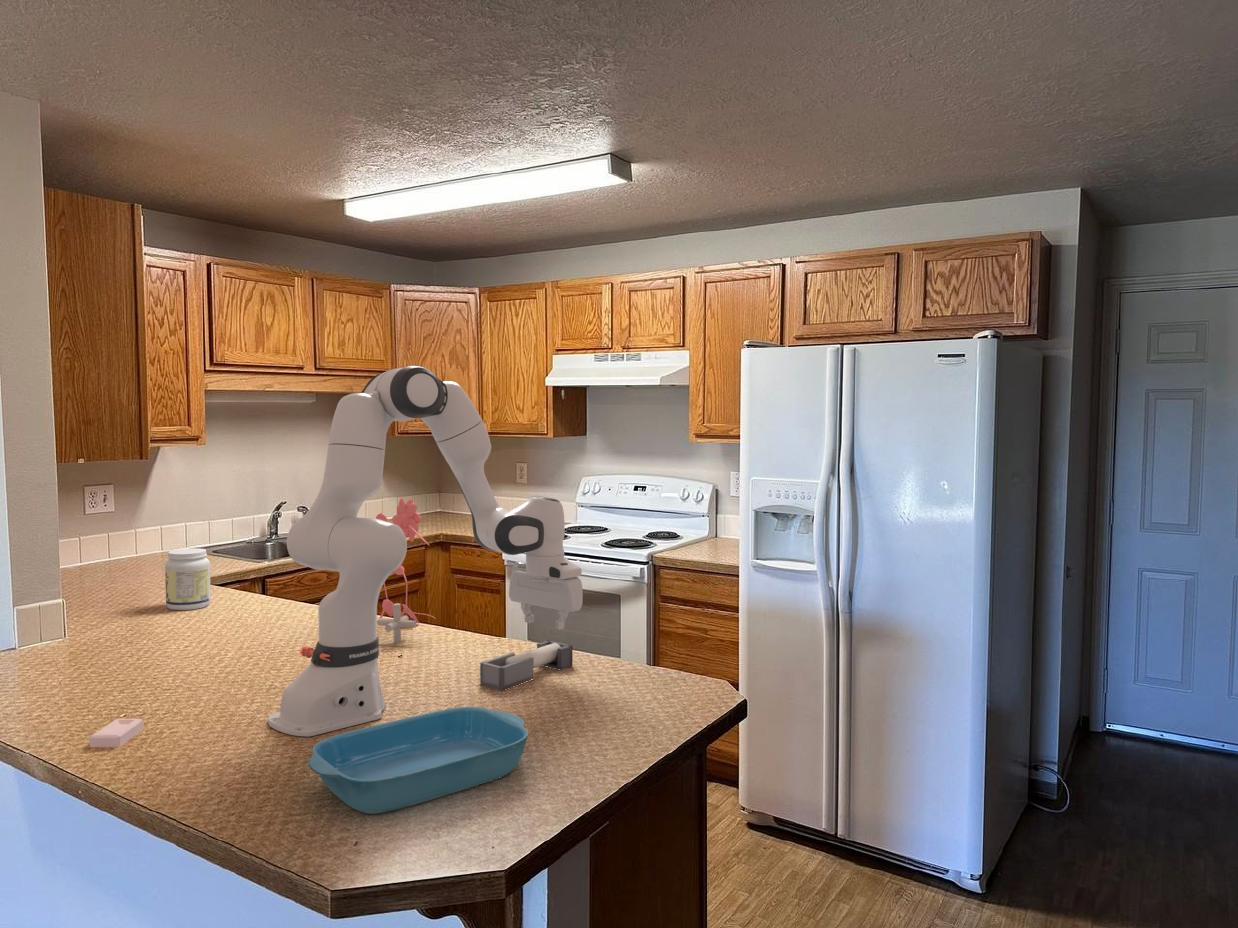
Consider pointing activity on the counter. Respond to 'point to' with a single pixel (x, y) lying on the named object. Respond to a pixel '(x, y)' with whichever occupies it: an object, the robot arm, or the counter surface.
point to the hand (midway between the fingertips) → (544, 625)
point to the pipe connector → (397, 623)
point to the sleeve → (505, 672)
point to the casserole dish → (419, 757)
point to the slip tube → (538, 655)
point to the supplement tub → (187, 579)
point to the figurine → (408, 524)
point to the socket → (560, 655)
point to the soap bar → (116, 733)
